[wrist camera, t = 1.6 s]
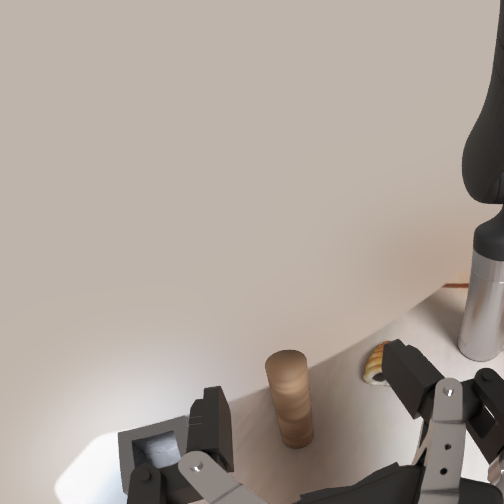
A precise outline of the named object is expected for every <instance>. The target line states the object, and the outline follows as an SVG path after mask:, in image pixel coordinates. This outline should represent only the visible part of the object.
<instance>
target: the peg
mask: <svg viewBox="0 0 504 504" xmlns="http://www.w3.org/2000/svg"><path fill="white" fill-rule="evenodd" d="M265 369H266V373H267V377H268V381H269V385H270V389H271V394H272V398H273V402H274V406H275V410H276V414H277V418H278V422H279V426H280V430H281V434H282V438H283V442H284V443H285V444H286V445H287V446H288V447H291V448H302V447H305V446H307V445H308V444H309V443H310V442H311V441H312V439H313V436H314V434H313V421H312V410H311V399H310V388H309V378H308V369H307V360H306V357H305V356H304V354H303V353H301V352H299V351H296V350H282V351H279V352H276V353H274V354H273V355H271V356H270V357H269V358H268V359H267V361H266V363H265Z"/></svg>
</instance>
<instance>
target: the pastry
mask: <svg viewBox="0 0 504 504" xmlns="http://www.w3.org/2000/svg"><path fill="white" fill-rule="evenodd" d="M388 342H391V341H386V342H383V343H382V344H381V345H378V346H377V347H376V349H374V351H373V353H372V354H371V355H370V356H369V358H368V362H367V363H366V366H365V373H364V375H363V380H364V381H365V382H366V383H368V384H370V385H375V386H377V385H387V386H390V385H389V383H388V382H387V380H386V379H385V378H384V376H383V373H382V369H381V364H382V356H383V347H384V344H386V343H388Z"/></svg>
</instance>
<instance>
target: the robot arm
mask: <svg viewBox="0 0 504 504" xmlns="http://www.w3.org/2000/svg"><path fill="white" fill-rule="evenodd" d="M462 176H463V181H464V184H465V187H466V189H467V191H468V193H469V194H470V196H471V197H472V198H473V199H474V200H476V201H478V202H481V203H487V204H503V206H502V210H501V211H500V212H499V213H498V214H497V215H496V216H495V217H494V218H492V219H491V220H489V221H487V222H485V223H483V224H481V225H479V226H478V227H477V228H476V230H475V232H474V240H473V255H472V265H471V274H470V282H469V288H468V295H467V300H466V306H465V311H464V316H463V321H462V325H461V329H460V332H459V337H458V348H459V349H460V351H461V352H462V353H463V354H464V355H465V356H466V357H468V358H470V359H472V360H475V361H488V360H491V359H493V358H494V357H496V356H497V354H498V353H499V352H500V351H503V350H504V0H500V14H499V23H498V31H497V39H496V47H495V55H494V62H493V69H492V76H491V81H490V85H489V89H488V93H487V96H486V100H485V103H484V106H483V108H482V111H481V113H480V115H479V118H478V119H477V121H476V123H475V125H474V127H473V129H472V131H471V133H470V135H469V137H468V139H467V141H466V144H465V147H464V151H463V157H462ZM381 369H382V373H383V376H384V378H385V379H386V380H387V382H388V383H389V385H390V386H391V388H392V389H393V390H394V392H395V393H396V395H397V396H398V398H399V399H400V400H401V402H402V403H403V405H404V406H405V408H406V409H407V411H408V412H409V414H410V415H411V417H412V418H413V419H416V418H418V417H420V416H421V417H422V418H423V421H422V426H421V431H420V436H419V441H418V446H417V450H416V454H415V457H414V459H413V462H412V464H411V465H405V466H399V465H398V463H397V462H395V463H393V464H391V465H389V466H387V467H384V468H382V469H380V470H377V471H375V472H374V473H372V474H371V475H369V476H367V477H366V478H364V479H363V480H361V481H360V482H358V483H356V484H355V485H352V486H346V487H337V488H326V489H322V490H318V491H315V492H311V493H306V494H302V495H300V497H301V500H299V501H297V502H295V503H293V504H504V380H503V379H502V378H501V377H500V376H499V375H498V374H497V373H496V372H495V371H494V370H493V369H490V368H482V369H480V370H478V371H477V373H476V375H475V377H474V378H473V379H470V380H466V381H463V382H459V381H458V380H456V379H454V378H445V377H444V376H443V375H442V374H441V373H440V372H439V371H438V370H437V369H436V368H435V367H434V366H433V364H432V363H431V362H430V361H428V359H427V358H426V357H425V356H423V354H422V353H421V352H420V351H419V350H418V349H417V348H415V347H413V346H411V345H407V346H405V345H404V344H403V343H402V341H401V340H399V339H396V340H394V341H391V342H388V343H386V344H384V347H383V356H382V364H381ZM485 406H486V407H487V408H488V410H489V411H490V412H491V413H492V415H493V416H494V418H495V419H494V418H493V416H492V415H491V414H490V413H489V411H488V410H487V409H486V407H485ZM466 429H467V431H468V432H469V434H470V435H471V437H472V438H473V440H474V441H475V443H476V444H477V446H478V447H479V449H480V451H481V452H482V454H483V455H484V457H485V459H486V460H487V462H488V463H489V465H490V466H489V469H488V477H487V479H488V481H489V482H490V483H485V482H480V481H475V480H470V479H466V478H462V477H461V470H462V464H463V456H464V447H465V435H466ZM228 472H234V464H233V447H232V428H231V413H230V409H229V406H228V403H227V401H226V398H225V396H224V393H223V390H222V388H221V386H216V387H208V388H205V389H204V398H203V399H197V400H195V402H194V403H193V405H192V407H191V409H190V418H189V428H188V438H187V449H186V453H185V455H183V456H182V457H181V459H180V460H179V462H177V463H176V464H173V465H170V466H166V467H162V468H159V469H157V468H156V467H155V466H153V465H150V464H143V465H140V466H138V467H136V468H135V469H134V470H133V471H132V473H131V476H130V482H129V490H128V498H127V504H188V503H191V502H195V501H198V500H202V499H205V500H206V501H207V502H208V503H209V504H268V503H267V502H265V501H264V500H263V499H261V498H260V497H259V496H257V495H256V494H255V493H254V492H252V491H251V490H250V489H248V488H247V487H246V486H244V485H243V484H240V483H238V482H237V481H236V480H235V479H234V478H232V477H231V476H230V475H229V474H228Z"/></svg>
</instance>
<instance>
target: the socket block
mask: <svg viewBox="0 0 504 504" xmlns="http://www.w3.org/2000/svg"><path fill="white" fill-rule="evenodd" d="M188 428H189V422H188V420H187V418H186V417H185V416H181V417H178V418H174V419H171V420H167V421H164V422H160V423H157V424H153V425H149V426H145V427H141V428H137V429H132V430H128V431H123V432H119V433H118V445H119V459H120V470H121V479H122V487H123V492H124V493H125V494H127V495H128V490H129V482H130V476H131V473H132V471H133V470H134V469H135V468H136V467H138V466H140V465H143V464H150V465H153V466H155V467H156V468H157V469H159V468H162V467H166V466H170V465H173V464H176V463H177V462H179V460H180V459H181V457H182V456H183V455H185V453H186V449H187V438H188Z"/></svg>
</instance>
